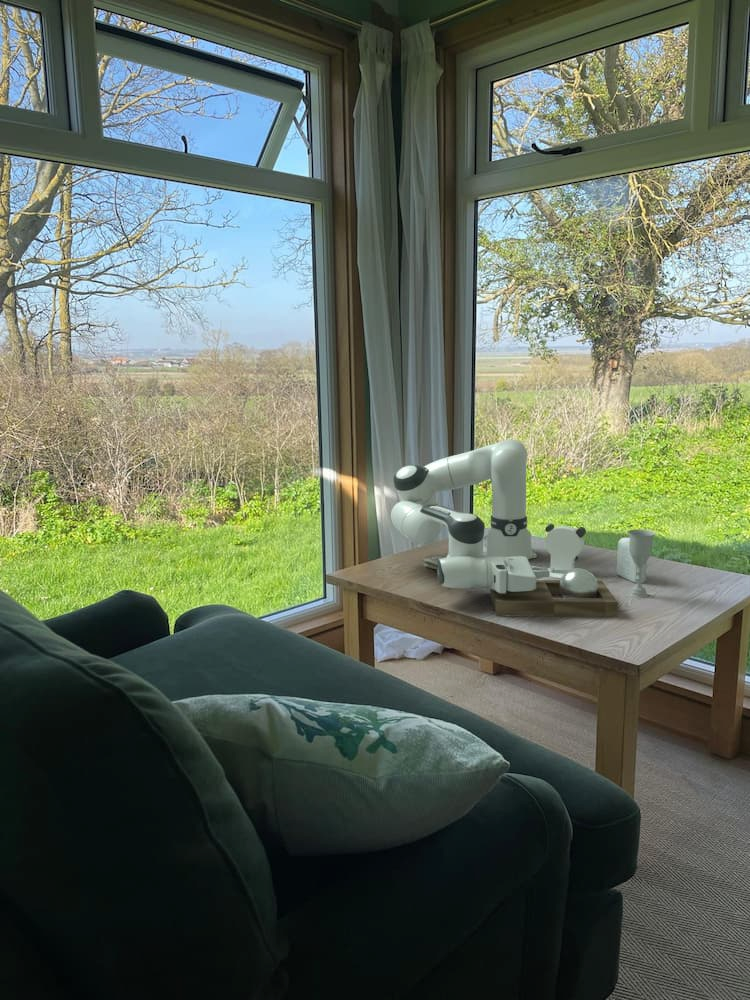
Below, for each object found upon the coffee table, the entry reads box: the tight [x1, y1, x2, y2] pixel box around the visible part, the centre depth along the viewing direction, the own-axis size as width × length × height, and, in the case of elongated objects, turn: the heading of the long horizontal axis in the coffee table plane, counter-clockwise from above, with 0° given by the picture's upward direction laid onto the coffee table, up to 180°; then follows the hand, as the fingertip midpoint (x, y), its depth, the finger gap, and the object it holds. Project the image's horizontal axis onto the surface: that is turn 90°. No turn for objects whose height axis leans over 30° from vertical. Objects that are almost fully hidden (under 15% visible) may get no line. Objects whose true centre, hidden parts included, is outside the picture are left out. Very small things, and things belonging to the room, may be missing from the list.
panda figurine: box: [544, 523, 587, 580], centre depth 220 cm, size 12×11×15 cm
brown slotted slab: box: [489, 579, 619, 617], centre depth 194 cm, size 18×31×4 cm, turn 86°
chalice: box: [627, 529, 656, 599], centre depth 199 cm, size 7×7×18 cm
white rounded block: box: [616, 537, 648, 584], centre depth 214 cm, size 10×4×12 cm, turn 17°
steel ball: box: [559, 567, 598, 598], centre depth 193 cm, size 10×10×10 cm
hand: (548, 572), depth 193 cm, fingers closed
